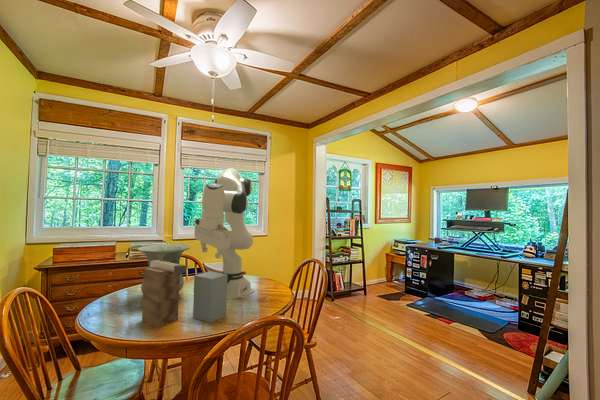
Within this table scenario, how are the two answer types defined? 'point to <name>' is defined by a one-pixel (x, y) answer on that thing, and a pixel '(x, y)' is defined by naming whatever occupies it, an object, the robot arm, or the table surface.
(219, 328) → the table surface
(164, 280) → the walnut pillar
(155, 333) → the table surface
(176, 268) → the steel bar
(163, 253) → the vessel
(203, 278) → the slate block
